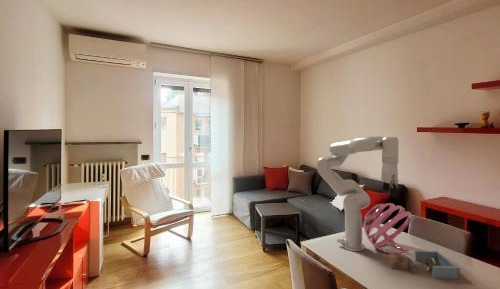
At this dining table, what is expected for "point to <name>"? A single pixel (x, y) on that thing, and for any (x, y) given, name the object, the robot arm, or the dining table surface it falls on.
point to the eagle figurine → (429, 263)
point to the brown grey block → (402, 262)
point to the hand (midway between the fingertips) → (389, 193)
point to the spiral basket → (386, 225)
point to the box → (446, 266)
